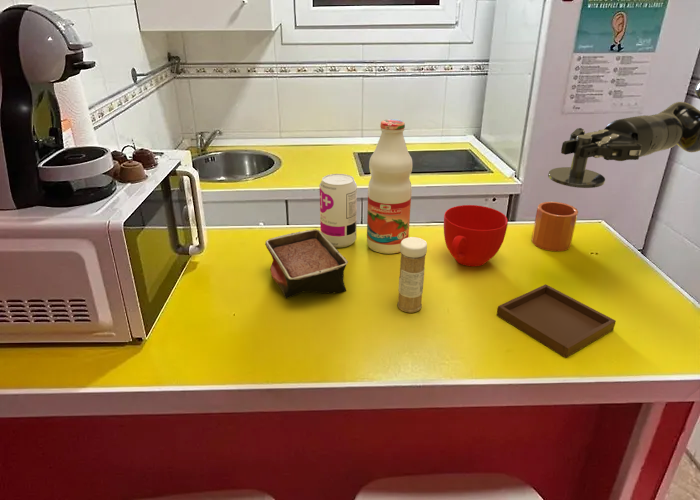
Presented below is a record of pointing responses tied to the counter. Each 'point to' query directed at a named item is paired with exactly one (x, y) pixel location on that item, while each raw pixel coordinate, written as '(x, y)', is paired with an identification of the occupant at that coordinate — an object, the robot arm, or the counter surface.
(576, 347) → the tray
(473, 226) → the ceramic cup
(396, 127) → the fruit juice
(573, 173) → the grey peg stand
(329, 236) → the supplement can
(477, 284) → the counter surface
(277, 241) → the baking dish
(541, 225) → the jar
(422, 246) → the sprinkles bottle
